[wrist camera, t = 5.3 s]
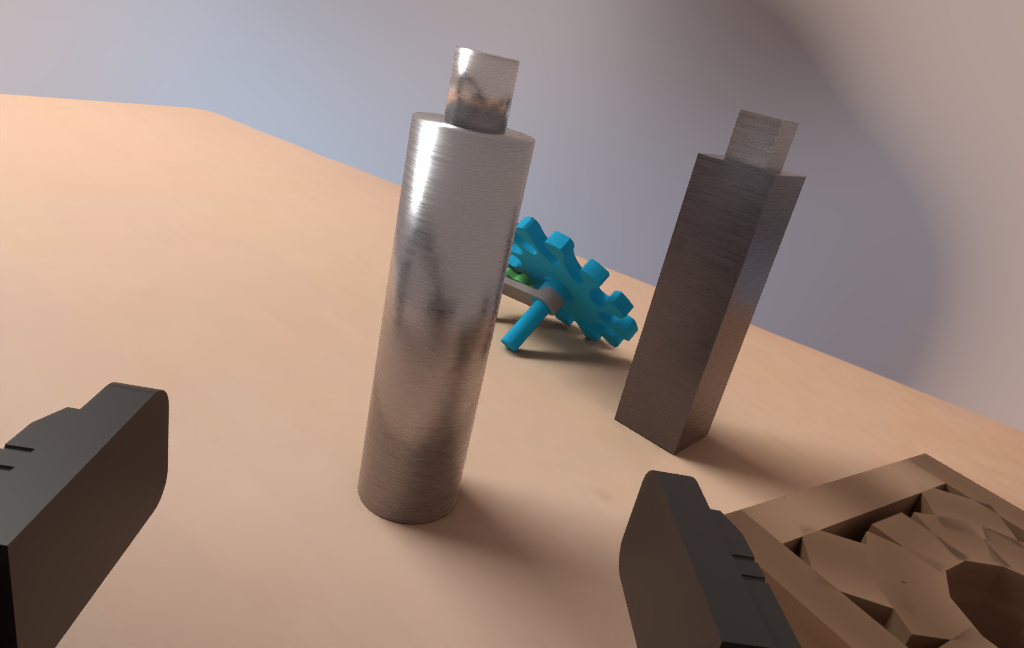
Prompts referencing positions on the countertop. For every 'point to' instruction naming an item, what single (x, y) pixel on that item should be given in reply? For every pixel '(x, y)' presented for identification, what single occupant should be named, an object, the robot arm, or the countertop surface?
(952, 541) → the bore block
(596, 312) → the gear
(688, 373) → the square bar
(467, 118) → the round rod
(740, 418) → the countertop surface
